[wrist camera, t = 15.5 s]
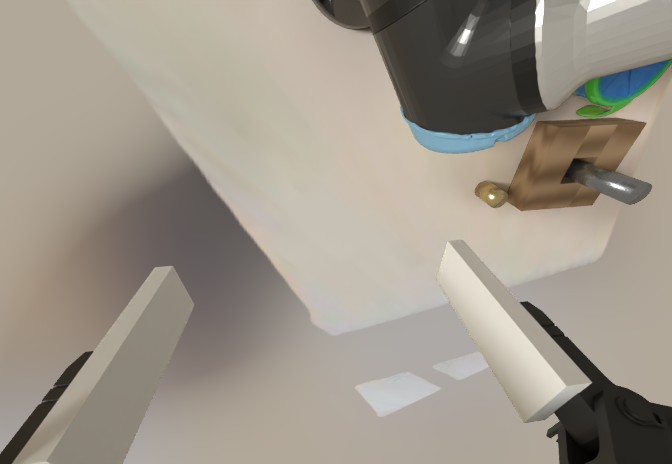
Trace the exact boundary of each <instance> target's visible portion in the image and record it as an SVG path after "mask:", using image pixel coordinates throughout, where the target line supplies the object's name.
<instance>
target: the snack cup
mask: <svg viewBox="0 0 672 464" xmlns="http://www.w3.org/2000/svg"><path fill="white" fill-rule="evenodd" d="M671 63H672V59H669V60H665V61H661V62H657V63H653V64H649V65H645V66H642V67H638V68H634V69H630V70H626V71H622V72H618V73H614V74H611V75H607V76H603V77H599V78H595V79H591V80H589V81H587V82H586V83H584V84H583V85H581V86H580V87H579V88H578V89H576V90H575V91H574V92H573V93H572V94H575V95H578V96H583V97H587V98H588V99H589V100H590V101H591V102H593V103H595V104H598V105H604V106H611V110H605V109H602V108H600V107H598V106H595V105H588V106H585V107H583V108H581V109H579V110H578V111H577V114H579V115H580V116H584V117H602V116H606V115H609V114H611V113H613V112H616V111H617V110H619V109H621V108H623V107H625V106H626V105H627V104H629V103H630V102H631V101H632V100H633V99H634V98H635V97H637V96H639V95H640V94H641V93H643V92H644V91H646V90H647V89H648V88H649V87H650V86H652V85H653V84H654V83H655V82H656V81H657V80H658V79H659V78H660V77H661V76H662V74H663V73H664V72H665V71H666V69H667V68H668V67H669V66H670V64H671Z"/></svg>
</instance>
